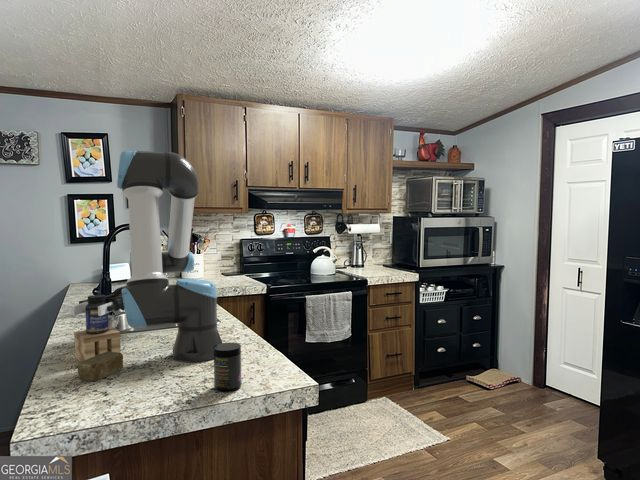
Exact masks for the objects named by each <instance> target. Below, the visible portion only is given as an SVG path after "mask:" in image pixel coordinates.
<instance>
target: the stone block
mask: <svg viewBox="0 0 640 480" xmlns="http://www.w3.org/2000/svg"><path fill="white" fill-rule="evenodd" d="M123 368H124V355H123V353H122V352H121V353H117V352H109V351H106V352H104V353H101V354H98V355H96V356H94V357H91V358H89V359H87V360H84V361H82V362H80V361H79V362H78V363H77V375H78V378H79V379H80V380H82V381H86V382H87V381H88V382H97V381H100V380H101V379H103V378H105V377H108V376H110V375H113V374H114V373H117V372H119V371H120V370H122V369H123Z"/></svg>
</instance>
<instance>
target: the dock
mask: <svg viewBox="0 0 640 480" xmlns="http://www.w3.org/2000/svg"><path fill="white" fill-rule="evenodd" d="M121 335H122V334H121V331H120V330H118V329H116V328H111V327H109V330H108V331H107V332H105V333H101V334H87V333H86V329H84V330H79V331H74V332H73V338H74V353H75V359H76V360H77V361H79V363H80V362H82V361H84V360H87V359H89V358H91V357H94V356H96V355H98V354H101V353H104V352H106V351H109V352H117V353H122V348H121Z"/></svg>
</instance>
